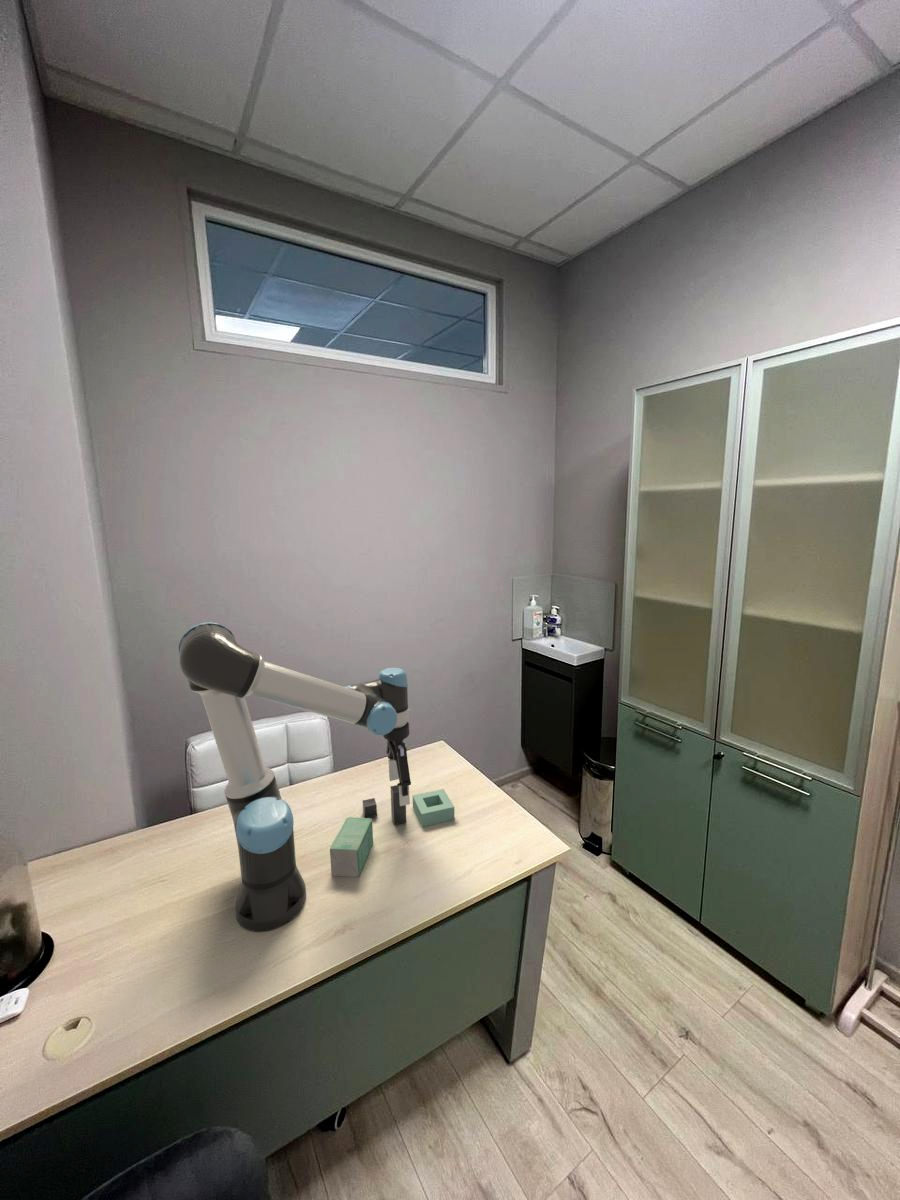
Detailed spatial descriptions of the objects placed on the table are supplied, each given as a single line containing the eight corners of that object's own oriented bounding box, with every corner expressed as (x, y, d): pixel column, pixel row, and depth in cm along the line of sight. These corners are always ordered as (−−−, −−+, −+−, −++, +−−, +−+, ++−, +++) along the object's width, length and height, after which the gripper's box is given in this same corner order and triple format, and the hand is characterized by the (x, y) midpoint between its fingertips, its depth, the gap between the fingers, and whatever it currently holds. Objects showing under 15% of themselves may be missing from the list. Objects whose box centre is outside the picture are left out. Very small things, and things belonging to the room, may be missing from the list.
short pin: (377, 816, 141) (376, 804, 140) (364, 819, 140) (364, 807, 139) (374, 809, 144) (374, 798, 144) (363, 812, 143) (362, 800, 143)
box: (374, 841, 130) (372, 816, 129) (359, 877, 117) (357, 850, 116) (348, 839, 131) (346, 815, 130) (330, 876, 118) (328, 849, 117)
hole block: (454, 819, 139) (454, 806, 139) (421, 826, 136) (421, 814, 135) (443, 800, 149) (443, 788, 148) (412, 807, 145) (412, 795, 145)
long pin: (406, 823, 138) (405, 790, 136) (394, 825, 137) (393, 793, 135) (403, 815, 141) (402, 784, 139) (391, 818, 140) (390, 786, 138)
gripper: (420, 739, 123) (423, 813, 127) (398, 704, 147) (401, 767, 150) (391, 744, 121) (396, 819, 125) (374, 708, 144) (378, 772, 148)
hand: (399, 791), depth 138 cm, fingers open, 13 cm apart
